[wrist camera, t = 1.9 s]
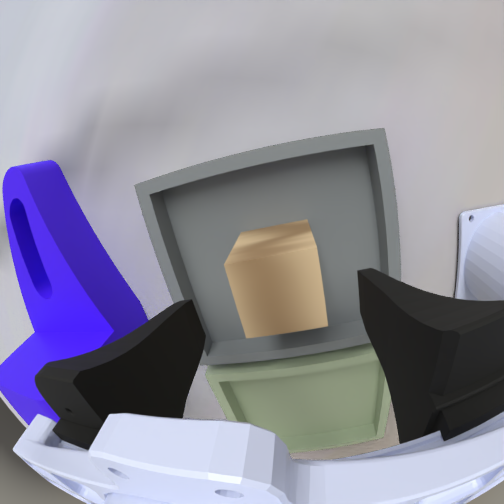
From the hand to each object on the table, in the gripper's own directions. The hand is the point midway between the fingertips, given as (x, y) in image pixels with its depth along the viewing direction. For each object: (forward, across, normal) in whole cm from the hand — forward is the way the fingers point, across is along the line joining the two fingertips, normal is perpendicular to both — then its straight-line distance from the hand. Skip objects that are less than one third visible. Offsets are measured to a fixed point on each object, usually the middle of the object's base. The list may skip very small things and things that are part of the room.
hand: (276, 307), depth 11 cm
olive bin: (+7, 0, +14) cm, 15 cm away
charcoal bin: (+7, 0, 0) cm, 7 cm away
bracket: (+7, +17, -2) cm, 18 cm away
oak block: (+6, 0, 0) cm, 6 cm away
